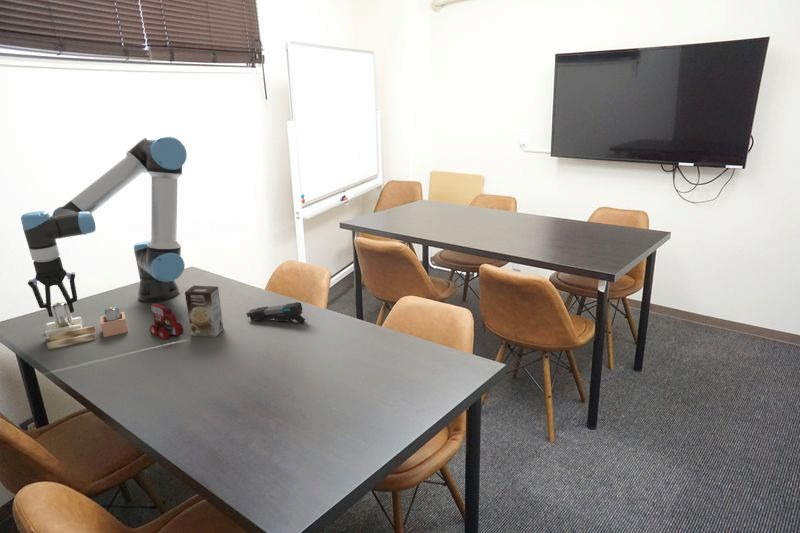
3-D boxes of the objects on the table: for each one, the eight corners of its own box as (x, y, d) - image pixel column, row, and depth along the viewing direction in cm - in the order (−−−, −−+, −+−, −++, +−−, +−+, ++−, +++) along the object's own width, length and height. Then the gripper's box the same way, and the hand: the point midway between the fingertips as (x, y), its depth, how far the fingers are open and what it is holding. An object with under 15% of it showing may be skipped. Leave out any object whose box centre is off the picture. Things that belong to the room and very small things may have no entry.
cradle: (82, 324, 175) (80, 316, 174) (82, 333, 168) (80, 325, 167) (48, 330, 170) (46, 323, 169) (47, 340, 163) (45, 332, 162)
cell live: (72, 322, 171) (66, 299, 168) (72, 326, 168) (65, 303, 165) (58, 325, 169) (52, 302, 166) (58, 329, 166) (51, 306, 163)
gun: (304, 324, 171) (292, 299, 168) (256, 338, 176) (245, 313, 174) (308, 319, 175) (297, 294, 173) (262, 332, 180) (250, 308, 178)
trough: (95, 332, 168) (94, 325, 167) (96, 340, 162) (94, 333, 161) (50, 341, 162) (48, 334, 161) (49, 351, 156) (47, 343, 155)
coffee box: (190, 336, 164) (183, 292, 159) (199, 328, 170) (192, 285, 165) (216, 337, 163) (209, 292, 158) (224, 328, 169) (218, 285, 164)
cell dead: (122, 327, 170) (117, 304, 168) (122, 331, 167) (117, 308, 164) (109, 329, 169) (104, 306, 166) (108, 334, 165) (103, 311, 163)
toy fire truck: (169, 343, 160) (163, 314, 157) (147, 334, 166) (142, 306, 163) (187, 335, 165) (183, 306, 162) (166, 326, 172) (161, 299, 168)
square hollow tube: (127, 325, 173) (123, 311, 171) (128, 333, 167) (125, 318, 165) (103, 330, 169) (100, 316, 168) (104, 338, 163) (100, 323, 162)
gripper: (76, 251, 167) (92, 313, 175) (17, 260, 159) (36, 325, 167) (75, 256, 161) (92, 320, 169) (14, 266, 153) (34, 333, 161)
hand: (64, 322), depth 168 cm, fingers closed on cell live, 3 cm apart
